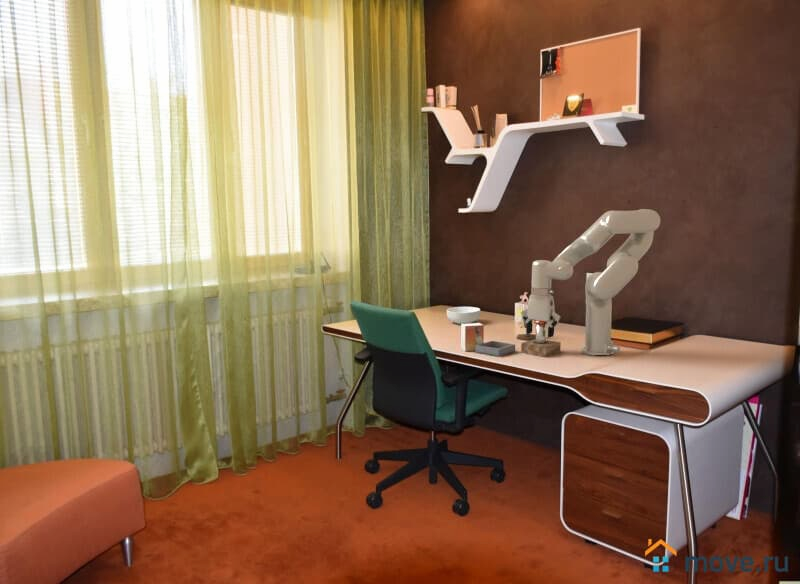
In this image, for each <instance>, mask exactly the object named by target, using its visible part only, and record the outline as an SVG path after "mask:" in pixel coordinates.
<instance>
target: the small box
mask: <svg viewBox="0 0 800 584" xmlns="http://www.w3.org/2000/svg"><path fill="white" fill-rule="evenodd" d="M484 327H485V325H484V324H482V323H480V322H476V323H475V322H472V323H471V324H461V327H460V330H461V331H460V332H461V333H460V335H461V337H460V342H461V343H460V346H461V347H460V348H461V350H463V351H464V352H470V351H471V352H473V351H474V352H476V345H479V344H482V343H485V342H484V336H485V335H484V334H485V333H484Z"/></svg>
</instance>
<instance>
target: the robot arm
mask: <svg viewBox="0 0 800 584" xmlns="http://www.w3.org/2000/svg"><path fill="white" fill-rule="evenodd" d="M660 224H661V216H660V215H659V214H658V212H657V211H655V210H653V209H646V208H641V209H638V210H608V211H606V212H605V213H603V214H602V215H601V216H600V217H599V218H598V219H597V220H596V221H595V222H594V223H592V225H591V226H590V227H589V228H587V229H586V230H585V231H584V232H583V233H582V234H581V235H580V236H579V237H578V238H576V239H575V240H574V241H573V242H572V243H571V244H569V245H568V246H566V248H564V250H563V251H561V253H559V254H558V255H557V256H556V257H555V258H554V259H553V261H551V260H546V259H545V260H544V259H539V260H538V259H536V260H534V261H532V264H531V266H532V267H531V290H530V292H531V294H530V295H529V297H528V303H527V308H526V309H524V310H522V311H521V312H520V314H521V317H522V319H523V322H524V321H525V323H526V328H525V332H526V331H527V332H526V333H527V334H529V333H530V334H533V322H534V320H536V321H543V322H547V325H548V327H547V337H548V338H552V337H554V335H555V327H556V326H557V325H558V324H559V323H560V322H559V321H560V320H561V316H560V315H559V314H558V313H556V311H555V301H554V295H552V294H554V292H555V291H554V290H553V289H552V280H557V281H558V280H559V281H566V280H568V279H571V278H572V276H573V274H574V267H575V266H576V265H577V264H578V263H579V262H580V261H582V260H583V259H585V258H587V257H588V256H591V255H594V254H596V253H597V252H598V251H599V250H600V249H601V248H602V247H603V246H605V244H606V243H607V242H608V241H609V240H611V239H612V237H614V236H615V235H616V234H617V235H621V234H623V235H624V234H625V235H626V234H630V235H629V237H628V238H627V239H626V240H625V241H624V243H622V245H620V247H619V248H618V249H617V250H615V251H614V253H612V254H611V255H610V257H608V259H607V262H606V268H605V269H604V270H603V271H596V272H594V273H591V274H590V275H589V276H588V277H587V279H586V281H585V287H584V288H585V290H584V291H585V339H584V340H585V341H584V342H585V343H584V346H583V347H582V348H581V349H580V351H581V353H582V354H584V355H588V356H595V355H607V356H609V355H608V354H612V353H614V352H618V353H619V352H620V350H621V347H620V345H615V344H614V341H612V340H611V339H612V335H611V334H612V311H613V310H612V309H613V308H612V307H613V306H612V305H613V304H612V298H614V297H616V295H618V294H619V293H620V292H621V290H623V288H624V287H625V286H627V284H628V283H630V281H631V280H632V279H633V278H634V277H635V276H636V274H637V273H638V270H639V262H638V261H640V260H641V258H642V257H643V256H644V255H645V254H646V253H647V252H648V250H649V249H650V248H651V246H652V243H653V240H654V231H656V230H658V228H659V227H660ZM526 313H527V316H528V317H527V316H526ZM531 322H532V323H531ZM526 333H525V334H526ZM614 354H615V353H614ZM612 355H613V354H612Z"/></svg>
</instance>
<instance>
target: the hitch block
mask: <svg viewBox="0 0 800 584" xmlns="http://www.w3.org/2000/svg"><path fill="white" fill-rule="evenodd" d="M520 344H521V345H520V346H521V347H520V349H521V351H520V353H521V354H524V353H525V355H531V356H535V357H542V358H546V357H550V356H553V355H555V354H559V353H561V341H556V340H555V341H554V340H548V339H546V344H543V345H542V344H536V339H533V340H530V341H523V342H521V343H520Z"/></svg>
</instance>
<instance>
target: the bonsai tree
mask: <svg viewBox="0 0 800 584" xmlns="http://www.w3.org/2000/svg"><path fill="white" fill-rule="evenodd" d="M526 316H527V313H526ZM527 317H528V316H527ZM531 323H532V324H533V321H532V322H531ZM522 328H524V329H526V323H525V321H524V320H523V326H519V329H522ZM525 332H527V331H526V330H525ZM533 339H536V334H534V333H529V334H527V333H522V334H521V333H520V334H517V336H516V340H519V341H520V340H521V341H524V342H527V341H530V340H533Z"/></svg>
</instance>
